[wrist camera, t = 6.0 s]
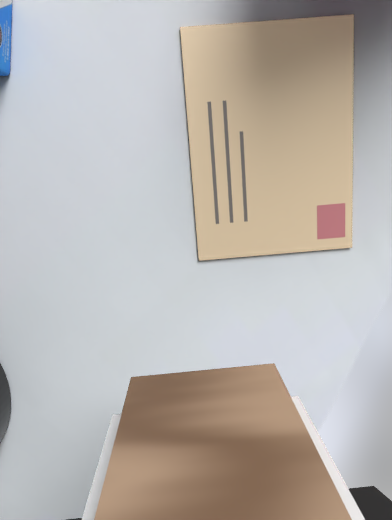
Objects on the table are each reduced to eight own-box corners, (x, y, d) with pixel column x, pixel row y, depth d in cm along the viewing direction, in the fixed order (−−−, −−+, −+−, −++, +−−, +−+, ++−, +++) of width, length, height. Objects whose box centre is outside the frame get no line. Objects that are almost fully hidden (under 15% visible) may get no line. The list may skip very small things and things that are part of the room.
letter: (198, 260, 27) (198, 260, 27) (180, 28, 24) (180, 27, 23) (350, 246, 27) (352, 247, 27) (352, 15, 24) (353, 14, 24)
